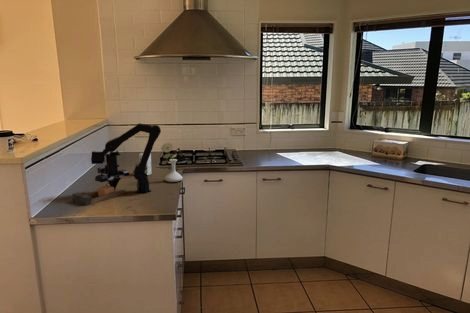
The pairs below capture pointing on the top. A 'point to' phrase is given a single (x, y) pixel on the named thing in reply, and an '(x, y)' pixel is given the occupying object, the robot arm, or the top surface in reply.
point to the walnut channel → (87, 200)
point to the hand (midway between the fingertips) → (113, 190)
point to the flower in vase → (173, 175)
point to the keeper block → (105, 190)
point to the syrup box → (148, 165)
